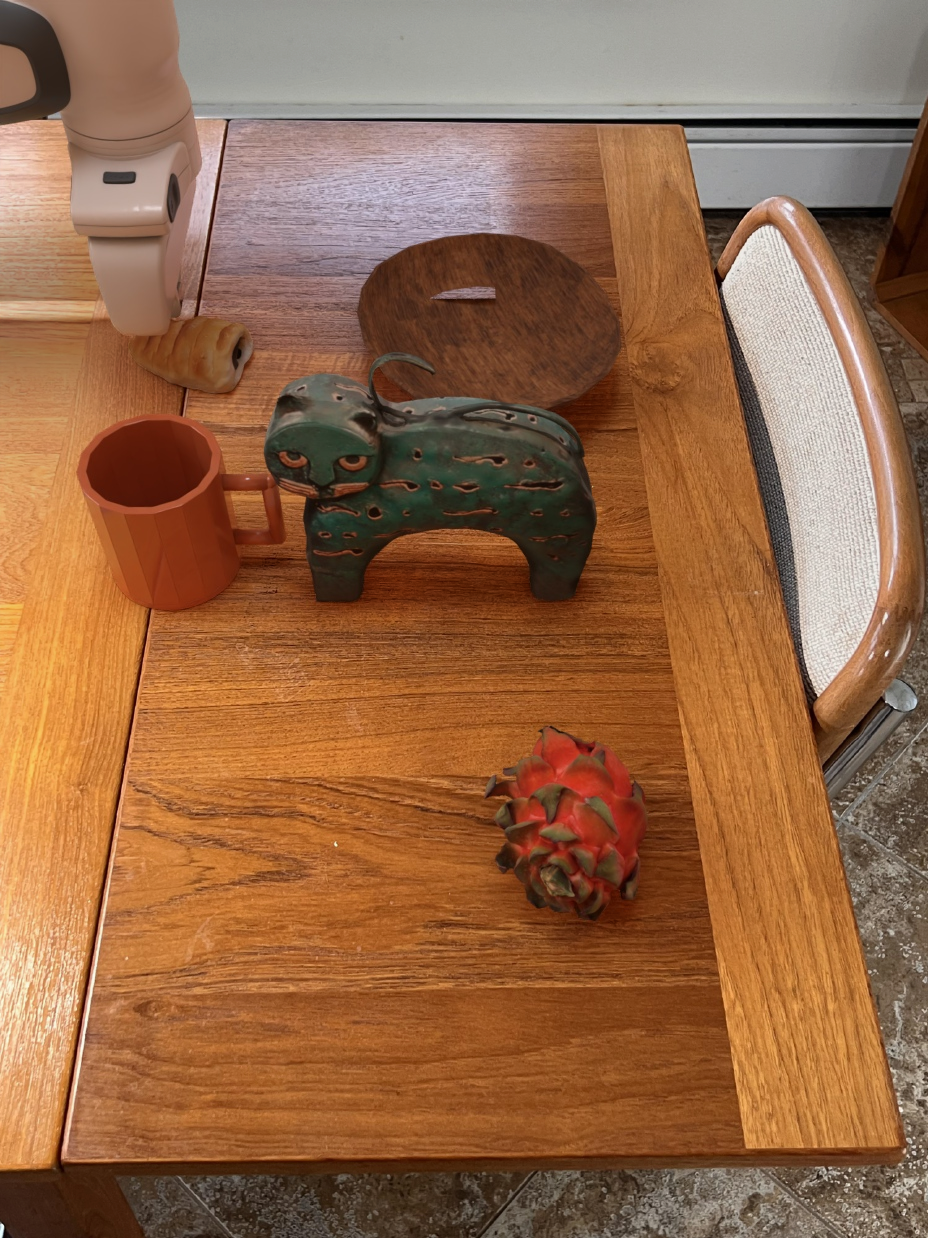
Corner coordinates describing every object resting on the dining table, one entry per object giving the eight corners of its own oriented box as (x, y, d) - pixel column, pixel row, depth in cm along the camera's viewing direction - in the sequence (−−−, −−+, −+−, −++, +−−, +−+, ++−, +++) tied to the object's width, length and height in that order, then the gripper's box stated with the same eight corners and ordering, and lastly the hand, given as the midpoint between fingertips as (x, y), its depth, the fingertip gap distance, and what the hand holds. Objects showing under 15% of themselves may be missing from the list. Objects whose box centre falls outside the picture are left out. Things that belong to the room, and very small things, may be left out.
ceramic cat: (288, 615, 77) (247, 384, 61) (298, 542, 81) (261, 307, 65) (587, 619, 77) (623, 390, 61) (581, 546, 81) (615, 312, 65)
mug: (102, 611, 77) (65, 514, 69) (123, 513, 82) (90, 413, 74) (285, 609, 77) (268, 512, 69) (294, 512, 82) (279, 412, 75)
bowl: (407, 488, 84) (405, 438, 80) (332, 307, 96) (327, 255, 92) (655, 431, 88) (665, 381, 84) (552, 264, 100) (556, 213, 96)
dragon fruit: (564, 973, 64) (538, 798, 72) (700, 916, 61) (655, 740, 69) (474, 912, 59) (458, 731, 67) (617, 846, 55) (580, 665, 64)
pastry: (120, 383, 90) (108, 344, 87) (150, 329, 94) (141, 290, 91) (234, 400, 89) (227, 361, 86) (260, 345, 93) (254, 306, 90)
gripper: (113, 70, 87) (150, 230, 98) (64, 230, 75) (113, 392, 86) (196, 70, 87) (224, 229, 98) (162, 229, 75) (198, 391, 86)
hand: (172, 307), depth 92 cm, fingers closed
